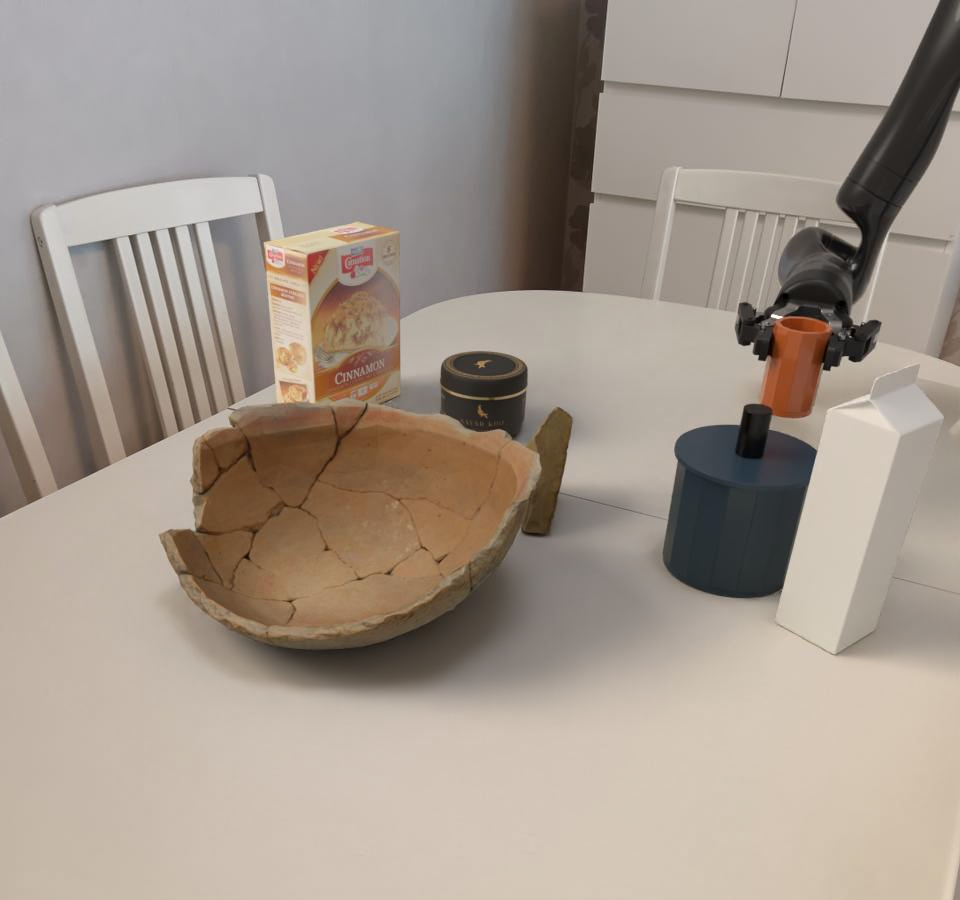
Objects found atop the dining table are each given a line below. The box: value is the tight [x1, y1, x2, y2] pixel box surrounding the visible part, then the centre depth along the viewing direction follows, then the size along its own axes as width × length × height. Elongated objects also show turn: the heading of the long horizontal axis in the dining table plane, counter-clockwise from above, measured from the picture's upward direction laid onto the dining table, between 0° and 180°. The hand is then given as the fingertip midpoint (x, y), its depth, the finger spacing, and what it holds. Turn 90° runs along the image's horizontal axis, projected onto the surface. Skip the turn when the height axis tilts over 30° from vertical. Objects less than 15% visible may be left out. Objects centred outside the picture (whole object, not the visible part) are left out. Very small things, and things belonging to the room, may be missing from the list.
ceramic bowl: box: [158, 398, 541, 651], centre depth 80 cm, size 30×27×15 cm
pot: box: [662, 460, 809, 598], centre depth 86 cm, size 12×12×10 cm
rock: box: [521, 406, 574, 535], centre depth 95 cm, size 11×9×10 cm
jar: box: [439, 350, 529, 438], centre depth 111 cm, size 10×10×8 cm
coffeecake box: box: [263, 221, 402, 405], centre depth 112 cm, size 15×7×20 cm, turn 143°
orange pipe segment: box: [758, 316, 833, 419], centre depth 90 cm, size 5×5×8 cm
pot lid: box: [673, 403, 818, 491], centre depth 82 cm, size 13×13×5 cm
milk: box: [774, 362, 945, 656], centre depth 75 cm, size 6×6×22 cm
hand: (796, 355), depth 87 cm, fingers closed on orange pipe segment, 5 cm apart
